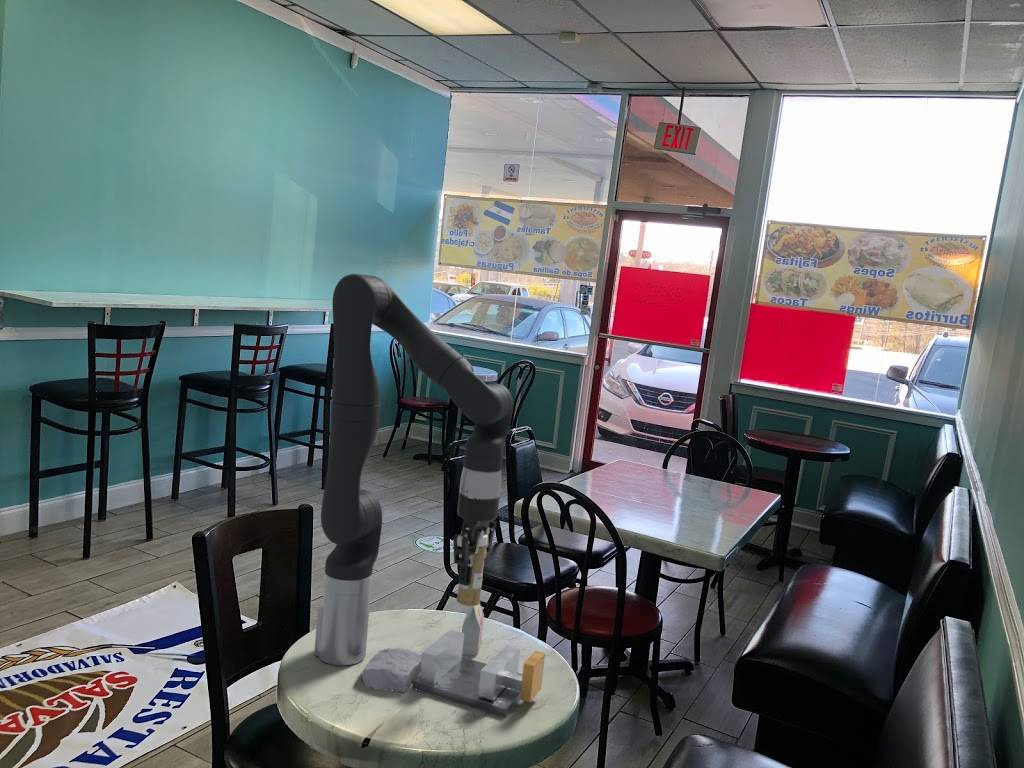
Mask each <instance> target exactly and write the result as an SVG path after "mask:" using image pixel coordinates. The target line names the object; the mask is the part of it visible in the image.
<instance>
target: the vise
mask: <svg viewBox="0 0 1024 768" xmlns="http://www.w3.org/2000/svg"><path fill="white" fill-rule="evenodd" d="M463 641H464V633H462V631H458V630H454V629H449V630H448V631H447V632H446V633H445V634H443V635H442V636H441V637H439V638H438V639H437V640H436V641H434V642H433V643H432V644H430V645H429V646H428V647H427V648H426V649H424V650H423V651H422V653H421V654H422V661H421V672H420V673H419V675H418V676H417V677H416V678H415V679H414V680H413V681H412V685H411V689H412V688H413V689H412V690H415V689H417V690H416V691H419V690H420V691H419V692H422V691H423V693H425V692H426V694H428V693H429V695H432V696H435V697H438V698H442V699H446V700H448V701H451V702H454V703H458V704H461V705H464V706H467V707H471V708H474V709H478V710H481V711H484V712H488V713H490V714H494V715H498V716H501V717H504V718H507V716H508V715H509V714H510V713H511V711H512V710H513V709H514V708H515V707H516V706H517V704H518V703H519V702H520V701H521V700H520V694H521V691H518V690H514V689H511V688H508V687H505V688H504V689H503V691H502V692H501V693H500V694H499V695H498V696H497V697H496V698H495V699H494V701H493V700H489V699H486V698H483V697H480V696H478V694H479V684H480V674H481V669H482V668H483V667H484V666H486V665H487V664H488V663H484V662H481V661H477V660H474V659H470V658H467V657H463V654H462V651H463ZM518 675H522V676H523V673H519V672H518Z"/></svg>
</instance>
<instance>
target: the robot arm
mask: <svg viewBox="0 0 1024 768" xmlns="http://www.w3.org/2000/svg"><path fill="white" fill-rule="evenodd" d="M332 294H333V295H332V302H331V303H332V304H331V305H332V324H333V341H334V342H333V347H334V348H333V349H334V350H333V370H332V392H331V399H330V402H331V403H330V428H329V429H330V430H329V431H330V433H329V443H328V444H329V445H328V446H329V447H328V456H327V457H328V459H327V470H326V476H325V477H326V478H325V485H324V489H323V496H322V503H321V510H320V522H321V523H320V524H321V528H322V531H323V533H324V535H325V537H326V538H327V540H328V541H330V542H331V543H332V544H335V547H334V548H333V550H332V551H331V552H330V553H329V555H327V557H326V559H325V564H324V577H323V578H324V579H323V593H322V594H323V595H322V603H321V604H322V605H321V606H320V607H319V608H318V609H317V613H316V622H315V623H316V625H315V639H314V652H313V653H314V654H313V655H314V656H317V657H318V658H319V659H320V660H321V661H322V662H324V663H326V664H329V665H334V666H351V665H355V664H358V663H361V662H362V661H363V660H364V659H366V655H367V654H366V651H367V641H368V640H367V639H368V631H369V618H370V606H371V595H372V593H371V592H372V583H373V582H372V581H373V580H372V579H373V570H374V569H373V568H374V565H375V563H376V561H377V559H378V555H379V551H380V544H381V543H380V541H381V535H382V527H383V510H382V506H381V503H380V500H379V499H378V497H377V496H376V495H375V493H373V492H370V491H369V490H366V489H360V488H361V477H362V474H363V469H364V466H365V463H366V461H367V458H368V456H369V454H370V452H371V450H372V447H373V445H374V442H375V440H376V437H377V434H378V431H379V427H380V418H381V417H380V416H381V415H380V414H381V402H382V401H381V390H380V389H381V388H380V384H379V380H378V376H377V373H376V371H375V367H374V365H373V364H374V363H373V360H372V355H371V337H372V326H375V327H377V328H378V329H381V330H382V331H383V332H385V333H387V334H388V335H389V336H391V337H392V338H393V339H394V340H396V342H398V343H399V345H400V346H401V348H403V350H404V351H405V353H406V354H407V355H408V357H409V358H410V360H411V361H412V362H413V364H414V365H415V366H416V367H417V368H418V369H419V370H420V371H421V373H423V374H424V375H425V376H426V377H427V378H428V379H429V380H431V382H433V383H434V384H435V385H437V386H438V387H439V388H441V390H442V391H444V392H446V395H448V396H449V399H451V400H452V402H453V403H454V405H455V406H456V407H457V409H459V410H460V412H461V413H462V414H463V415H465V417H466V418H468V419H469V420H470V421H472V422H473V423H474V425H473V429H472V430H473V431H472V433H471V435H470V436H468V438H467V439H466V443H465V449H464V456H463V457H464V458H463V459H464V460H463V465H462V466H463V467H462V472H461V474H460V475H461V476H460V481H459V489H458V490H459V491H458V492H459V493H458V501H457V510H456V512H457V516H458V517H460V518H461V519H462V520H463V524H462V526H461V533H460V534H457V533H455V534H454V536H453V539H452V540H453V541H452V543H453V561H454V562H453V563H454V564H456V565H459V572H458V573H459V574H458V585H459V584H461V585H465V586H468V585H470V584H471V576H472V565H473V560H474V556H475V555H476V554H477V553H478V550H479V542H480V539H482V537H483V534H486V535H487V536H488V538H487V544H486V547H485V556H484V559H486V557H487V553H490V552H491V548H492V544H493V540H494V535H495V531H496V526H497V522H496V521H495V520H496V519H497V518H498V514H499V507H500V497H501V496H500V495H501V489H502V466H503V459H504V445H505V442H506V438H507V435H508V432H509V430H510V429H509V428H510V425H511V420H512V417H513V416H512V415H513V411H514V409H513V408H514V401H513V396H512V393H511V392H510V390H509V389H508V388H507V387H506V386H505V385H502V384H500V383H489V384H486V383H485V382H484V381H483V380H481V378H479V377H478V375H476V374H475V373H474V367H473V365H472V364H471V363H470V362H469V361H468V360H467V358H465V357H464V356H462V355H461V354H460V353H459V352H458V351H456V349H454V348H453V347H451V346H450V345H449V344H448V343H447V342H445V341H444V340H443V339H442V338H441V337H439V336H438V334H436V333H435V332H434V331H432V330H431V329H430V328H429V327H428V326H427V325H426V324H425V323H424V322H423V321H421V319H420V318H419V317H418V316H417V315H416V314H415V313H414V312H413V311H412V310H411V309H410V308H409V307H408V306H407V304H406V303H405V302H404V301H403V300H402V299H401V298H400V296H399V295H398V294H397V293H396V292H395V291H394V289H393V288H392V287H391V286H390V285H389V284H388V282H386V281H385V280H384V279H383V278H380V277H378V276H375V275H369V274H368V275H367V274H360V273H359V274H358V273H351V274H346V275H344V276H343V277H341V279H340V280H339V281H338V282H337V284H336V285H335V288H334V290H333V293H332ZM469 546H471V547H473V546H474V548H473V549H469ZM469 553H470V556H469Z"/></svg>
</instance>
